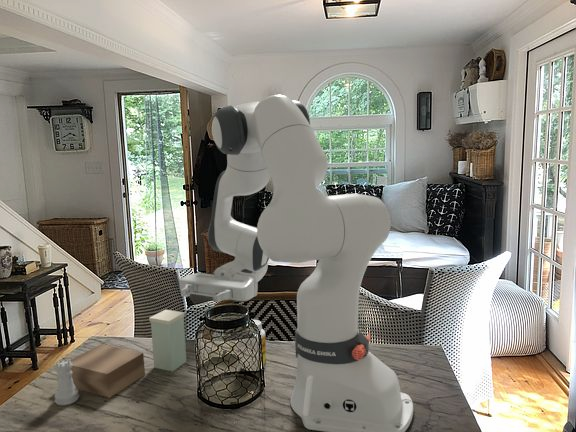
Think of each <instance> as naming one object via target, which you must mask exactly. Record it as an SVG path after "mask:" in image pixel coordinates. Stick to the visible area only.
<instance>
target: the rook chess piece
mask: <svg viewBox="0 0 576 432" xmlns="http://www.w3.org/2000/svg"><path fill="white" fill-rule="evenodd" d="M70 360H71V359H70V358H64V360H63V359H59V361H56V362H55V364H56V365H55V367H54V370H55V371H56V372H57V374H56V377H57V380H58V382H57V388H56V392H55V393H54V403H56V404H57V405H58V406H61V407H62V406H69V405H72V404H74V403H75V402H77V400H78V399H79V398H80V393H79V391H80V390H79V389H78V388H77V387H76V385H74V383H73V379H72V373H73V371H71V368H72V366H73V364H72V363H71V361H70Z"/></svg>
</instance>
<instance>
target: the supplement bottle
mask: <svg viewBox="0 0 576 432" xmlns="http://www.w3.org/2000/svg"><path fill="white" fill-rule="evenodd" d="M252 320H253V321H254V322H255V324H256V325H257V327H258V329H259V331H260V335H261V344H262V352H263V365H264V369H265V368H266V366H267V351H266V350H267V347H266V342H267V341H266V332H265V330H264V329H263V327H262V322H261V321H260V320H259V319H252Z"/></svg>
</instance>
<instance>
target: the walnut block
mask: <svg viewBox="0 0 576 432" xmlns="http://www.w3.org/2000/svg"><path fill="white" fill-rule="evenodd" d="M144 356H145V355H144V352H140V351H135V350H132V349H127V348H123V347H119V346H118V347H117V346H112V345H108V344H104V343H101V344H99V345H97V346H94V347H93V348H91V349H89V350H87V351H85V352H83V353H81V354H79V355H77V356H75V357H73V358H71V359H70V361H71V363H72V364H73V366H72V368H71V371H73V373H72V379H73V383H74V385H76V387H77V388H78V390H79V391H84V392H87V393H90V394H94V395H98V396H100V397H104V398H109V399H110V398H111V397H113V396H115V395H117V394H118V393H119V392H121V391H123V390H125V388H127V387H129V386H130V385H132V384H133V383H135V382H136V381H138V380H139V379H141V378H142V377H144V376H146V371H145V369H146V367H145V357H144Z"/></svg>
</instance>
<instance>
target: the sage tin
mask: <svg viewBox="0 0 576 432" xmlns="http://www.w3.org/2000/svg"><path fill="white" fill-rule="evenodd" d="M185 316H186V313H185V312H183V311H178V310H177V311H176V310H171V309H163V310H162V311H160V312H157V313H156V314H154V315H151V316H150V317H149V318H148V319H149V322H150V326H151V327H150V329H151V341H152V353H153V355H152V357H153V367H154V368H156V369H160V370H163V371H169V372H174V371H176V369H178V368H180V367H181V366H182V365H184V364H185V363H186V362H187V351H186V350H187V349H186V347H187V346H186V333H185V319H184V318H185Z"/></svg>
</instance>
